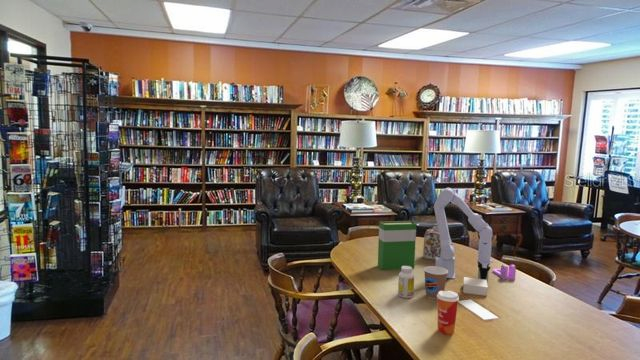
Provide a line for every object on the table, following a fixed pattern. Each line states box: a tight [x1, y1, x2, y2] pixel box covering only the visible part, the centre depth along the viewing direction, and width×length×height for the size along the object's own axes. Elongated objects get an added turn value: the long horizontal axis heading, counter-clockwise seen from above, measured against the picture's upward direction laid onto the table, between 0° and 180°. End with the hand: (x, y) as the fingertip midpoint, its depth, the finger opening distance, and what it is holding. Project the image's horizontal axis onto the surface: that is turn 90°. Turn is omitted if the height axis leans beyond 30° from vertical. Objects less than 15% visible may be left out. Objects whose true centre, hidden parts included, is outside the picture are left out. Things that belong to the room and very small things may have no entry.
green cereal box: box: [377, 220, 417, 271], centre depth 221 cm, size 18×7×24 cm, turn 102°
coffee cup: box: [423, 265, 448, 300], centre depth 182 cm, size 10×10×12 cm
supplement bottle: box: [397, 266, 415, 299], centre depth 182 cm, size 7×7×13 cm
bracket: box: [492, 264, 517, 280], centre depth 212 cm, size 13×6×7 cm, turn 7°
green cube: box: [477, 268, 490, 284], centre depth 203 cm, size 4×4×5 cm
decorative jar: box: [422, 225, 441, 261], centre depth 239 cm, size 12×12×18 cm
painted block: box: [462, 276, 489, 297], centre depth 191 cm, size 10×10×4 cm
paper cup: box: [437, 290, 460, 336], centre depth 150 cm, size 8×8×14 cm
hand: (482, 277), depth 203 cm, fingers closed on green cube, 4 cm apart
